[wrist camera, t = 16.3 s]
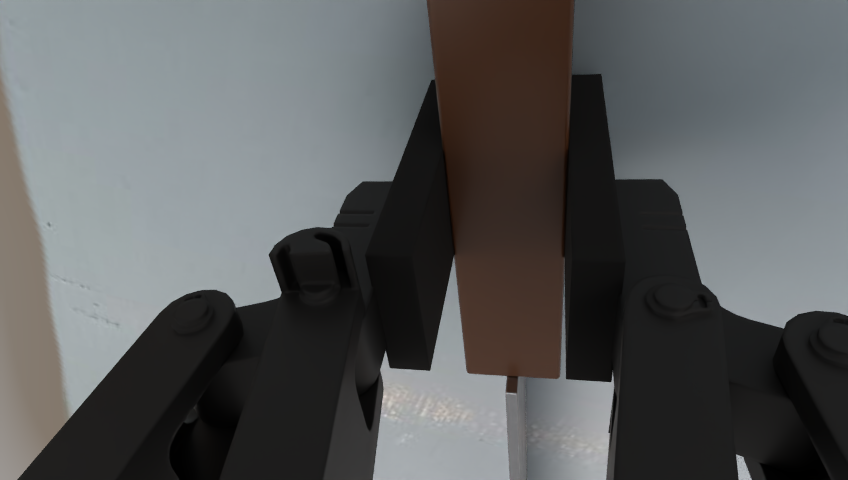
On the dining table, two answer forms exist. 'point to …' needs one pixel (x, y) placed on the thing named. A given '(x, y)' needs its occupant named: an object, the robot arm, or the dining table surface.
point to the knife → (507, 184)
